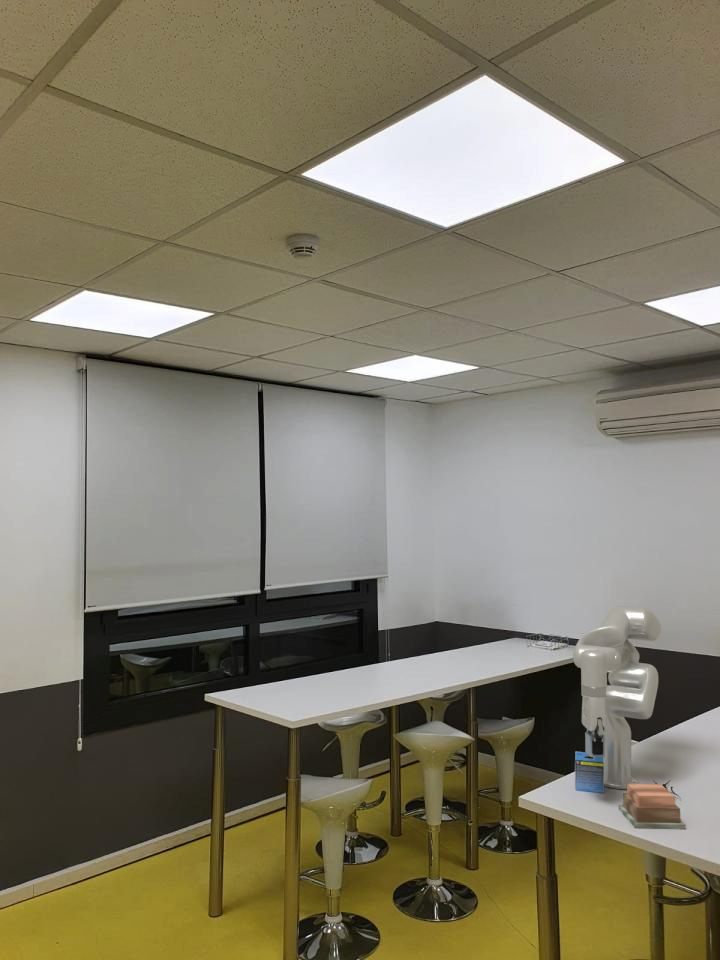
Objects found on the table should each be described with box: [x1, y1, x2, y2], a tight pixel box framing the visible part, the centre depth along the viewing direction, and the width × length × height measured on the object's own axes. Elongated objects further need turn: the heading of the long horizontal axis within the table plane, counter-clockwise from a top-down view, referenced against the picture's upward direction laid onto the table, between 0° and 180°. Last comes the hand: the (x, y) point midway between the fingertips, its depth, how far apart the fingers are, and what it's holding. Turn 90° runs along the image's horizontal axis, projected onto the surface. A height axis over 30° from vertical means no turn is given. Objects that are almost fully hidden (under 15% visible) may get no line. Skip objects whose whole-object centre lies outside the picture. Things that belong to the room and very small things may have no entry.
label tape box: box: [574, 751, 605, 794], centre depth 235 cm, size 9×4×12 cm, turn 74°
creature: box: [652, 779, 682, 800], centre depth 228 cm, size 8×5×8 cm
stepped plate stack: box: [618, 783, 686, 830], centre depth 212 cm, size 14×14×8 cm
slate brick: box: [584, 731, 605, 758], centre depth 224 cm, size 4×4×7 cm
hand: (595, 751), depth 223 cm, fingers closed on slate brick, 4 cm apart
